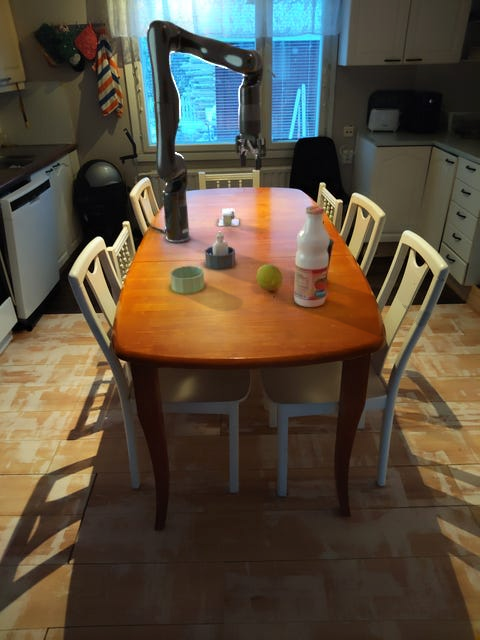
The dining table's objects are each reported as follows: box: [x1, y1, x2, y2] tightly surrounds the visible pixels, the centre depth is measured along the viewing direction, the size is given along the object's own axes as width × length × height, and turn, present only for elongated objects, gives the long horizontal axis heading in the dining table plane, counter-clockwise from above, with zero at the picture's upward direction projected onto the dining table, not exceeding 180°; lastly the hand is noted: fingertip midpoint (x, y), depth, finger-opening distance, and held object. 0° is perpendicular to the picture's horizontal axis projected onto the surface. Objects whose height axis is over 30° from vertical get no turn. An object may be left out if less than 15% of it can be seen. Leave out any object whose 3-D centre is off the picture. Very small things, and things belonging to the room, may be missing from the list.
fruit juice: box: [293, 205, 331, 308], centre depth 131 cm, size 9×9×28 cm
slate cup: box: [204, 245, 236, 271], centre depth 163 cm, size 10×10×5 cm
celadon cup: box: [169, 265, 205, 295], centre depth 147 cm, size 10×10×5 cm
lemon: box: [256, 263, 283, 292], centre depth 144 cm, size 11×8×8 cm
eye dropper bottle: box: [212, 230, 229, 256], centre depth 162 cm, size 4×6×12 cm
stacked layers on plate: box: [217, 207, 240, 227], centre depth 206 cm, size 10×9×6 cm
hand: (250, 168), depth 163 cm, fingers open, 8 cm apart
